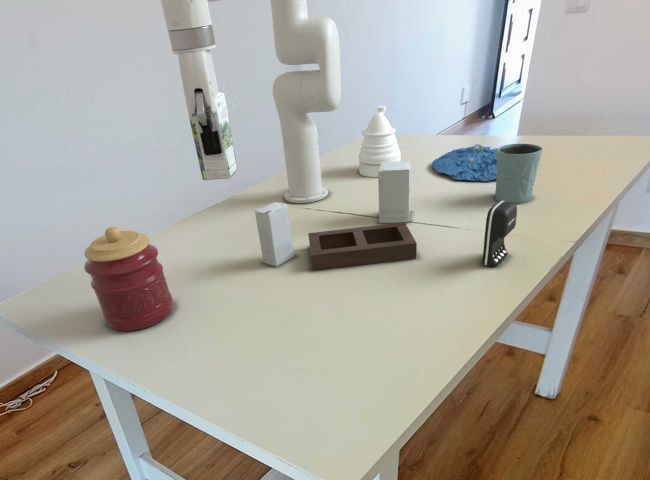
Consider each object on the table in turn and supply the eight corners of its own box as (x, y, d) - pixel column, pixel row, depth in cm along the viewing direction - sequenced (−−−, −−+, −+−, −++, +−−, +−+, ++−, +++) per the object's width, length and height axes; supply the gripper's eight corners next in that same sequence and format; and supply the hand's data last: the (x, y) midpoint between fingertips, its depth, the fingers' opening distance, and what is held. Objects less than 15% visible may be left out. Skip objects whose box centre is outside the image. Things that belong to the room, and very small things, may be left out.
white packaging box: (409, 222, 120) (409, 169, 112) (378, 223, 121) (377, 170, 114) (410, 211, 125) (411, 160, 118) (381, 212, 127) (380, 161, 120)
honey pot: (372, 163, 163) (370, 103, 153) (407, 166, 156) (408, 103, 146) (351, 174, 155) (348, 112, 145) (388, 178, 148) (387, 113, 138)
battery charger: (499, 269, 96) (507, 212, 90) (480, 265, 98) (486, 209, 92) (512, 255, 101) (521, 200, 94) (494, 252, 103) (501, 197, 96)
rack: (309, 247, 114) (308, 233, 112) (404, 236, 113) (404, 221, 111) (312, 270, 104) (311, 255, 102) (416, 258, 104) (416, 243, 102)
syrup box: (211, 171, 102) (194, 93, 93) (239, 170, 100) (224, 90, 92) (202, 181, 97) (183, 99, 88) (231, 179, 96) (214, 96, 87)
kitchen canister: (138, 339, 89) (104, 247, 79) (92, 323, 95) (55, 237, 85) (188, 304, 97) (164, 218, 87) (143, 292, 104) (115, 210, 93)
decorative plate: (552, 180, 137) (556, 161, 134) (442, 189, 139) (444, 170, 135) (518, 148, 160) (521, 131, 157) (424, 156, 162) (425, 140, 159)
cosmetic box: (281, 253, 113) (273, 200, 106) (295, 257, 110) (289, 203, 103) (262, 263, 109) (253, 210, 102) (276, 268, 107) (268, 213, 100)
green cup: (489, 203, 124) (495, 154, 117) (494, 190, 132) (499, 142, 125) (533, 205, 121) (541, 154, 114) (535, 191, 128) (543, 142, 121)
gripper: (179, 39, 92) (202, 140, 103) (161, 48, 78) (189, 164, 89) (219, 34, 92) (238, 136, 103) (208, 42, 78) (231, 159, 89)
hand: (215, 148), depth 96 cm, fingers closed on syrup box, 6 cm apart
